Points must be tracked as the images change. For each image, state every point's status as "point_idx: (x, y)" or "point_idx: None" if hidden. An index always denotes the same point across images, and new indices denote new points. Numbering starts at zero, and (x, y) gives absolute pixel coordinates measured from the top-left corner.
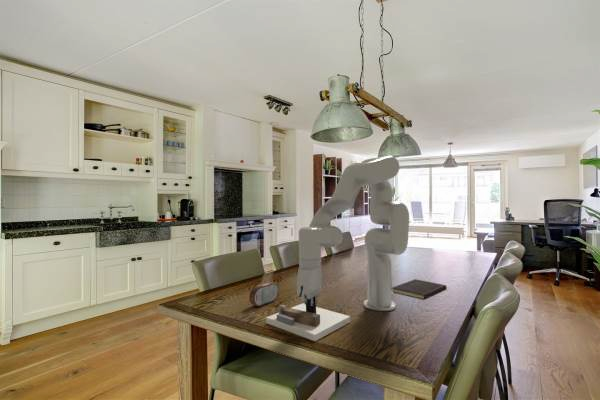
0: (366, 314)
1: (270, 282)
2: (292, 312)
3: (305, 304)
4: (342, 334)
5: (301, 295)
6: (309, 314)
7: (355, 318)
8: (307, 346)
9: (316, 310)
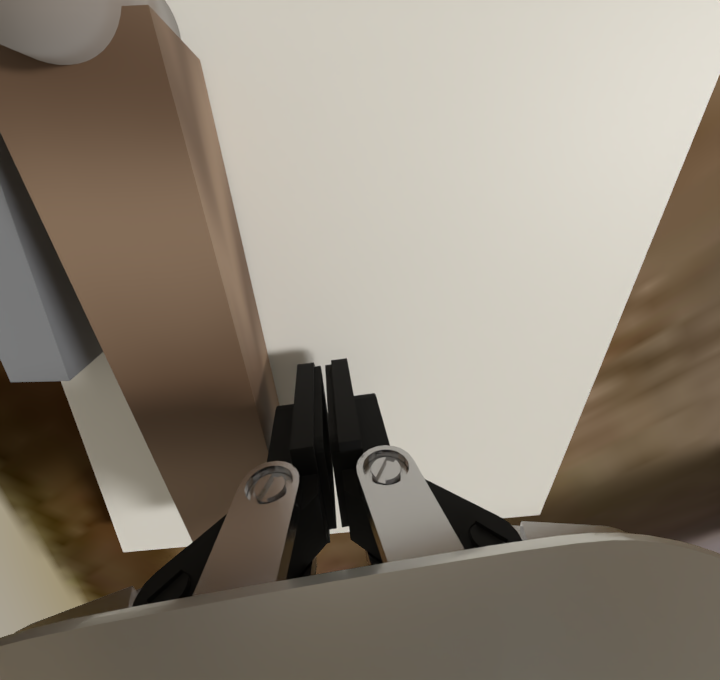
0: (667, 479)
1: None
2: (86, 313)
3: (246, 484)
4: (337, 540)
5: (125, 634)
6: (217, 495)
7: (585, 473)
8: (53, 523)
9: (561, 273)
